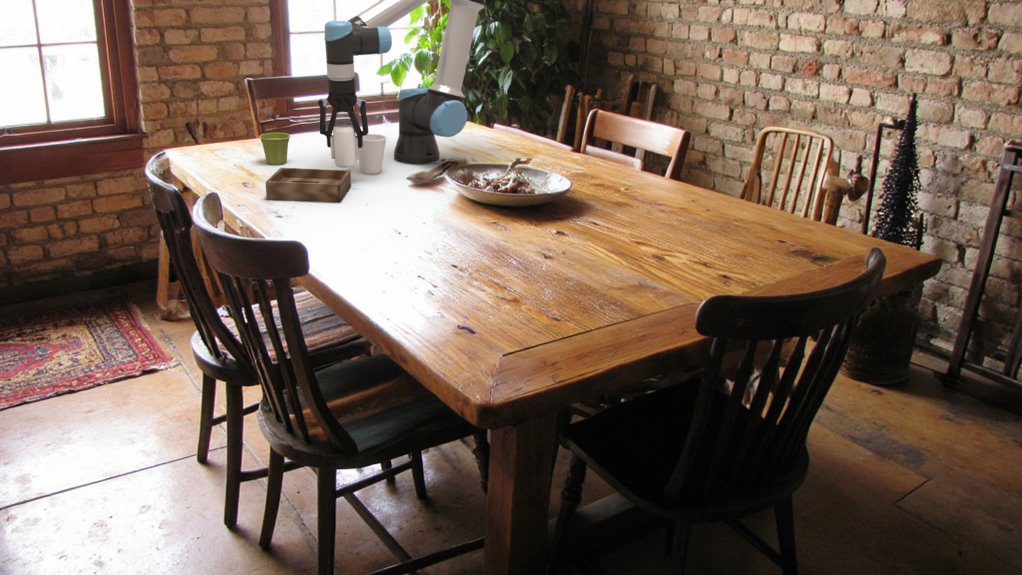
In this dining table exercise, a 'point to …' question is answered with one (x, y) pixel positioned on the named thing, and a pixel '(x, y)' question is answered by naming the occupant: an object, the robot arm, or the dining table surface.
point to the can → (344, 145)
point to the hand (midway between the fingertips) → (345, 158)
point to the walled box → (308, 185)
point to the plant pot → (275, 147)
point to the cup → (372, 153)
